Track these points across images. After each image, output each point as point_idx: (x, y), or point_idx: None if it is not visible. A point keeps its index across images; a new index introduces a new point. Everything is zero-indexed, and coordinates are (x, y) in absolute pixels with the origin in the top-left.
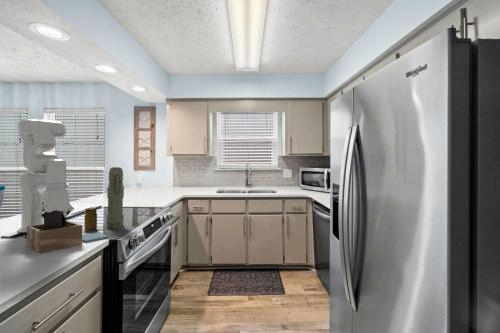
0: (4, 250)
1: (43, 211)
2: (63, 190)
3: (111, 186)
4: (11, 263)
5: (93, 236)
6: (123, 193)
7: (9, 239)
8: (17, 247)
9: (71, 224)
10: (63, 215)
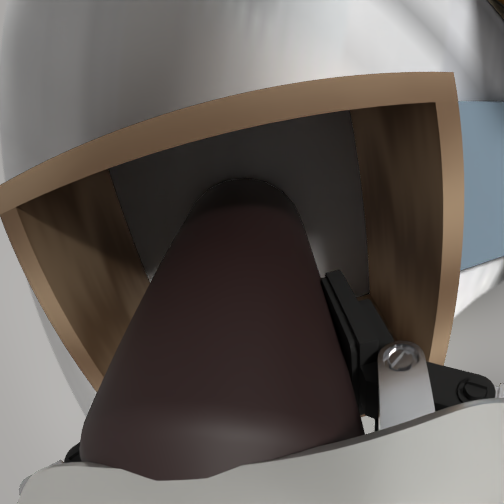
0: (5, 181)
1: (64, 472)
2: None
3: None
4: (89, 395)
5: (481, 209)
6: None
7: None
8: (46, 145)
9: (431, 242)
10: (377, 413)
